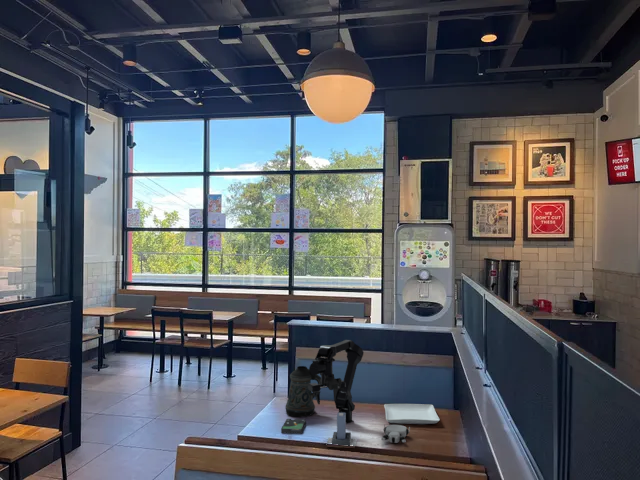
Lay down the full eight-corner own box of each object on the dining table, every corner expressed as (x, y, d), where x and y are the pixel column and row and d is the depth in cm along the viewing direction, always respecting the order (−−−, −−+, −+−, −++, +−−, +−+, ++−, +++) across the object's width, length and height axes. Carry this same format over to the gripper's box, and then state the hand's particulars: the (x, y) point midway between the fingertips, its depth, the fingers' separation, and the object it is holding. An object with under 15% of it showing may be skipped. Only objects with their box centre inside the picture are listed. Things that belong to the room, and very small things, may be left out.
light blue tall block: (338, 439, 217) (337, 410, 217) (345, 440, 216) (345, 410, 217) (337, 444, 211) (336, 414, 212) (345, 444, 211) (344, 414, 211)
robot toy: (406, 448, 210) (410, 434, 225) (406, 438, 210) (410, 424, 225) (379, 445, 214) (384, 431, 228) (379, 435, 214) (384, 422, 228)
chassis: (328, 439, 219) (328, 431, 220) (356, 440, 218) (356, 432, 218) (326, 447, 210) (326, 439, 210) (355, 448, 208) (355, 440, 208)
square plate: (432, 410, 262) (432, 403, 262) (440, 427, 235) (440, 419, 235) (384, 409, 265) (383, 402, 265) (386, 426, 237) (386, 418, 238)
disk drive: (286, 424, 243) (281, 434, 228) (286, 418, 243) (280, 428, 228) (306, 424, 242) (301, 434, 227) (306, 419, 242) (301, 428, 227)
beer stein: (280, 410, 263) (280, 365, 264) (311, 405, 272) (311, 362, 274) (293, 419, 249) (292, 371, 250) (325, 413, 258) (324, 367, 259)
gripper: (317, 376, 222) (317, 410, 222) (351, 372, 231) (351, 404, 230) (307, 372, 232) (307, 404, 232) (339, 368, 241) (340, 398, 240)
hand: (327, 403), depth 233 cm, fingers open, 9 cm apart
